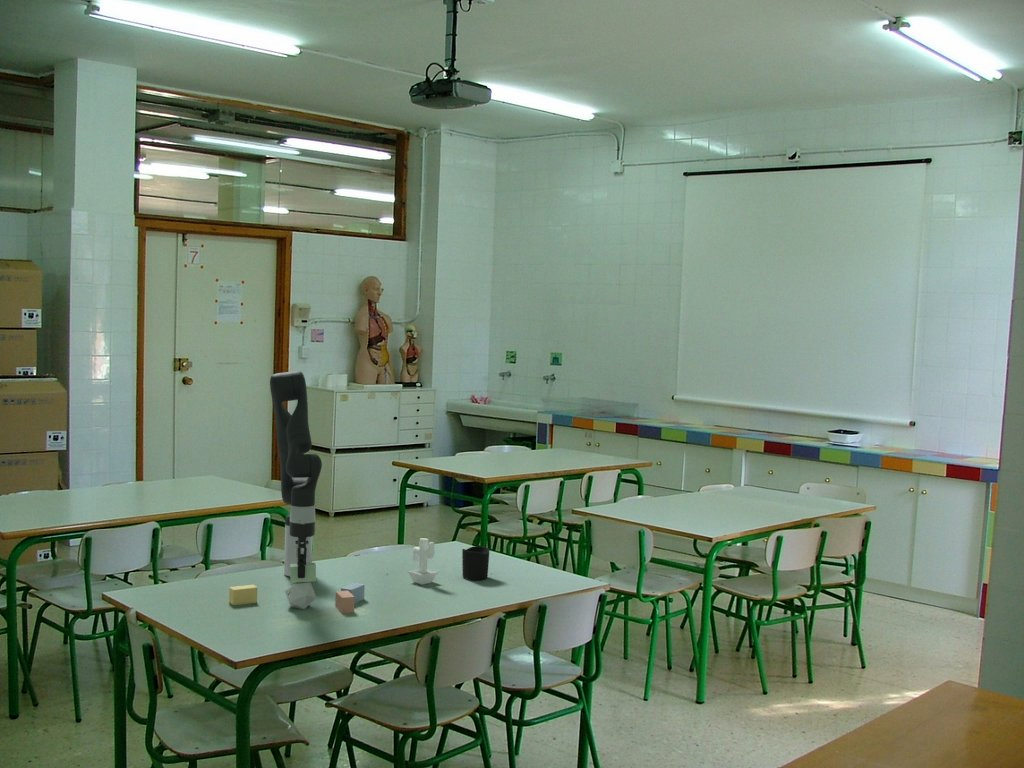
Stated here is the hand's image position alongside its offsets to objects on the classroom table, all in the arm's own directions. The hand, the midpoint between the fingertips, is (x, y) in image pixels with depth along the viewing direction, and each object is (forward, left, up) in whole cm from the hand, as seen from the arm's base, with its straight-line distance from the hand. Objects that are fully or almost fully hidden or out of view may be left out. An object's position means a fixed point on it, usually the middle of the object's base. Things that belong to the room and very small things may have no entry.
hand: (301, 575), depth 303 cm
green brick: (0, +1, -1) cm, 2 cm away
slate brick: (-5, +16, -10) cm, 19 cm away
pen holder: (-31, +60, -10) cm, 68 cm away
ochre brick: (-7, -17, -10) cm, 21 cm away
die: (0, 0, -10) cm, 10 cm away
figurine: (-26, +41, -10) cm, 50 cm away
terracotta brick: (+4, +13, -10) cm, 17 cm away
